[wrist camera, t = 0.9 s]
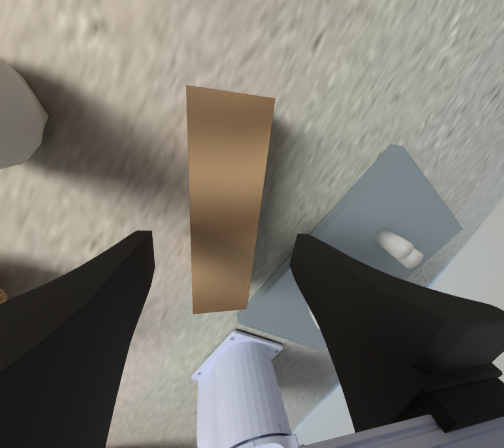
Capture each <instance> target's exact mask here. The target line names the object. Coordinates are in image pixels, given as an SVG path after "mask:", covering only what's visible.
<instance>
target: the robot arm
mask: <svg viewBox="0 0 504 448" xmlns="http://www.w3.org/2000/svg"><path fill="white" fill-rule="evenodd" d="M289 265H290V268H291V271H292V274H293V277H294V279H295V282H296V284H297V286H298V288H299V289H300V291H301V293H302V295H303V297H304V299H305V301H306V303H307V304H308V306H309V308H310V310H311V312H312V314H313V316H314V318H315V320H316V322H317V324H318V326H319V328H320V331H321V333H322V336H323V338H324V340H325V343H326V345H327V348H328V351H329V353H330V356H331V359H332V361H333V364H334V367H335V370H336V372H337V375H338V378H339V381H340V384H341V387H342V390H343V393H344V396H345V399H346V403H347V406H348V409H349V412H350V416H351V419H352V423H353V426H354V429H355V433H353V434H349V435H345V436H341V437H337V438H333V439H329V440H325V441H322V442H317V443H314V444H310V445H304V444H303V445H301V446H299V444H298V440H297V437H296V434H292V433H291V430H290V426H289V422H288V419H287V415H286V411H285V408H284V404H283V400H282V397H281V393H280V390H279V386H278V382H277V379H276V375H275V371H274V368H273V364H272V361H271V360H272V359H273V358H274V357H275V356H276V355H277V354H278V353H279V352H280V351H281V350H282V349H283V347H282V345H281V344H278V343H275V342H272V341H269V340H266V339H262V338H259V337H256V336H253V335H250V334H247V333H243V332H240V331H237V330H235V331H233V332H231V333H230V335H229V336H228V337H227V338H226V339H225V340H224V341H223V342H222V343H221V344H220V345H219V346H218V347H217V349H216V350H215V351H214V352H213V353H212V354H211V355H210V356H209V357H208V358H207V359H206V360H205V361H204V362H203V364H202V365H201V366H200V367H199V368H198V369H197V370H196V371H195V372H194V373H193V374H192V380H196V381H198V402H197V447H198V448H504V383H503V382H502V381H501V380H500V379H499V378H498V377H500V376H501V375H502V371H500V370H499V369H498V368H497V367H496V366H495V365H494V364H492V362H493V361H494V360H495V359H496V358H497V357H498V356H499V355H500V354H501V353H502V352H504V311H503V310H501V309H499V308H497V307H495V306H492V305H489V304H485V303H481V302H477V301H473V300H469V299H465V298H461V297H457V296H453V295H449V294H446V293H442V292H439V291H436V290H432V289H429V288H426V287H423V286H420V285H416V284H414V283H411V282H408V281H405V280H402V279H400V278H397V277H394V276H392V275H389V274H387V273H385V272H382V271H380V270H378V269H375V268H373V267H371V266H369V265H366V264H364V263H362V262H360V261H358V260H356V259H354V258H352V257H350V256H349V255H347V254H345V253H343V252H341V251H339V250H338V249H336V248H334V247H332V246H330V245H329V244H327V243H325V242H323V241H321V240H319V239H318V238H316V237H314V236H311V235H309V234H297V238H296V242H295V246H294V249H293V253H292V257H291V260H290V264H289ZM154 269H155V261H154V250H153V238H152V231H139V230H137V231H135V232H134V233H132V234H130V235H129V236H127V237H126V238H124V239H123V240H122V241H120V242H119V243H117V244H116V245H114V246H112V247H111V248H109V249H108V250H106V251H105V252H103V253H102V254H100V255H98V256H97V257H95V258H93V259H92V260H90V261H88V262H86V263H85V264H83V265H81V266H80V267H78V268H76V269H74V270H72V271H71V272H69V273H67V274H65V275H63V276H61V277H59V278H57V279H55V280H53V281H51V282H49V283H47V284H44V285H42V286H40V287H38V288H36V289H33V290H31V291H29V292H26V293H24V294H22V295H19V296H17V297H15V298H12V299H10V300H8V301H5V302H3V303H1V304H0V448H105V446H106V441H107V437H108V432H109V428H110V424H111V419H112V415H113V410H114V406H115V402H116V397H117V393H118V389H119V385H120V381H121V377H122V373H123V369H124V365H125V361H126V357H127V354H128V350H129V346H130V342H131V339H132V336H133V333H134V330H135V328H136V325H137V322H138V320H139V317H140V314H141V312H142V309H143V306H144V304H145V301H146V298H147V295H148V293H149V290H150V287H151V283H152V279H153V274H154Z"/></svg>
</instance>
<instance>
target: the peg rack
mask: <svg viewBox="0 0 504 448" xmlns="http://www.w3.org/2000/svg"><path fill="white" fill-rule="evenodd" d="M462 229H463V228H462V227H461V226H460V224H459V223H458V221H457V220H456V219H455V217H454V216H453V214H452V213H451V212H450V210H449V209H448V208H447V206H446V205H445V203H444V202H443V201H442V199H441V198H440V197H439V195H438V194H437V192H436V191H435V190H434V188H433V187H432V185H431V184H430V183H429V181H428V180H427V179H426V177H425V176H424V174H423V173H422V172H421V170H420V169H419V167H418V166H417V165H416V163H415V162H414V161H413V159H412V158H411V156H410V155H409V154H408V152H407V151H406V150H405V148H404V147H403V146H398V145H390V146H389V147H388V149H387V150H386V151H385V152H384V153H383V154H382V155H381V156H380V157H379V158H378V160H377V161H376V162H375V163H374V164H373V165H372V166H371V167H370V168H369V169H368V171H367V172H366V173H365V174H364V175H363V176H362V177H361V178H360V179H359V180H358V182H357V183H356V184H355V185H354V186H353V187H352V188H351V189H350V190H349V191H348V193H347V194H346V195H345V196H344V197H343V198H342V199H341V200H340V201H339V202H338V204H337V205H336V206H335V207H334V208H333V209H332V210H331V211H330V212H329V213H328V215H327V216H326V217H325V218H324V219H323V220H322V221H321V222H320V223H319V224H318V226H317V227H316V228H315V229H314V230H313V231H312V232H311V233H310V234H309V235H311V236H314V237H316V238H318V239H319V240H321V241H323V242H325V243H327V244H329V245H330V246H332V247H334V248H336V249H338V250H339V251H341V252H343V253H345V254H347V255H349V256H350V257H352V258H354V259H356V260H358V261H360V262H362V263H364V264H366V265H369V266H371V267H373V268H375V269H378V270H380V271H382V272H385V273H387V274H389V275H392V276H394V277H397V278H400V279H402V280H404V279H406V278H407V277H408V276H409V275H410V274H411V273H413V272H414V271H415V270H416V269H417V268H418V267H419V266H421V265H422V264H423V263H424V262H425V261H426V260H428V259H429V258H430V257H431V256H432V255H433V254H434V253H436V252H437V251H438V250H439V249H440V248H441V247H443V246H444V245H445V244H446V243H447V242H448V241H449V240H451V239H452V238H453V237H454V236H455V235H456V234H458V233H459V232H460V231H461V230H462ZM291 257H292V254H291V255H290V256H289V257H288V259H287V260H286V261H285V262H284V263H283V264H282V265H281V266H280V267H279V268H278V270H277V271H276V272H275V273H274V274H273V275H272V276H271V277H270V278H269V279H268V281H267V282H266V283H265V284H264V285H263V286H262V287H261V288H260V289H259V290H258V292H257V293H256V294H255V295H254V296H253V297H252V298H251V299H250V300H249V301H248V305H247V309H242V310H240V311H239V312H238V314H237V317H238V323H239V324H242V325H245V326H248V327H251V328H254V329H257V330H260V331H263V332H266V333H269V334H272V335H275V336H278V337H281V338H284V339H287V340H290V341H293V342H296V343H299V344H302V345H305V346H308V347H311V348H314V349H317V350H320V351H322V350H324V349H325V348H326V347H327V345H326V343H325V340H324V338H323V336H322V333H321V331H320V328H319V326H318V324H317V322H316V320H315V318H314V316H313V314H312V312H311V310H310V308H309V306H308V304H307V303H306V301H305V299H304V297H303V295H302V293H301V291H300V289H299V288H298V286H297V284H296V282H295V279H294V277H293V274H292V271H291V268H290V265H289V264H290V260H291Z"/></svg>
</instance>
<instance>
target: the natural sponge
mask: <svg viewBox="0 0 504 448" xmlns="http://www.w3.org/2000/svg"><path fill="white" fill-rule="evenodd" d="M5 301H8V298H7V294H6V293H5V292H4V291H3V290H2V289H1V288H0V304H1V303H3V302H5Z"/></svg>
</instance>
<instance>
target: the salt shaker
mask: <svg viewBox="0 0 504 448" xmlns="http://www.w3.org/2000/svg"><path fill="white" fill-rule="evenodd" d="M48 117H49V116H48V114H47V113H46V111H45V109H44V108H43V106H42V105H41V103H40V102H39V100H38V99H37V97H36V96H35V94H34V93H33V91H32V89H31V88H30V86H29V85H28V83H27V82H26V80H25V79H24V78H23V77H22V76H21V75H20V74H18V73H17V72H16V71H15V70H14V69H13V68H12V67H11V66H10V65H9V64H7V63H6V62H5V61H4V60H3V59H1V58H0V169H3V168H7V167H10V166H14V165H18V164H22V163H24V162H26V161H27V160H28V159H29V158H30V157H31V156H32V155H33V153H34V152H35V151H36V150H37V148H38V147H39V146H40V145H41V143H42V137H43V131H44V128H45V125H46V123H47V120H48Z"/></svg>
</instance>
